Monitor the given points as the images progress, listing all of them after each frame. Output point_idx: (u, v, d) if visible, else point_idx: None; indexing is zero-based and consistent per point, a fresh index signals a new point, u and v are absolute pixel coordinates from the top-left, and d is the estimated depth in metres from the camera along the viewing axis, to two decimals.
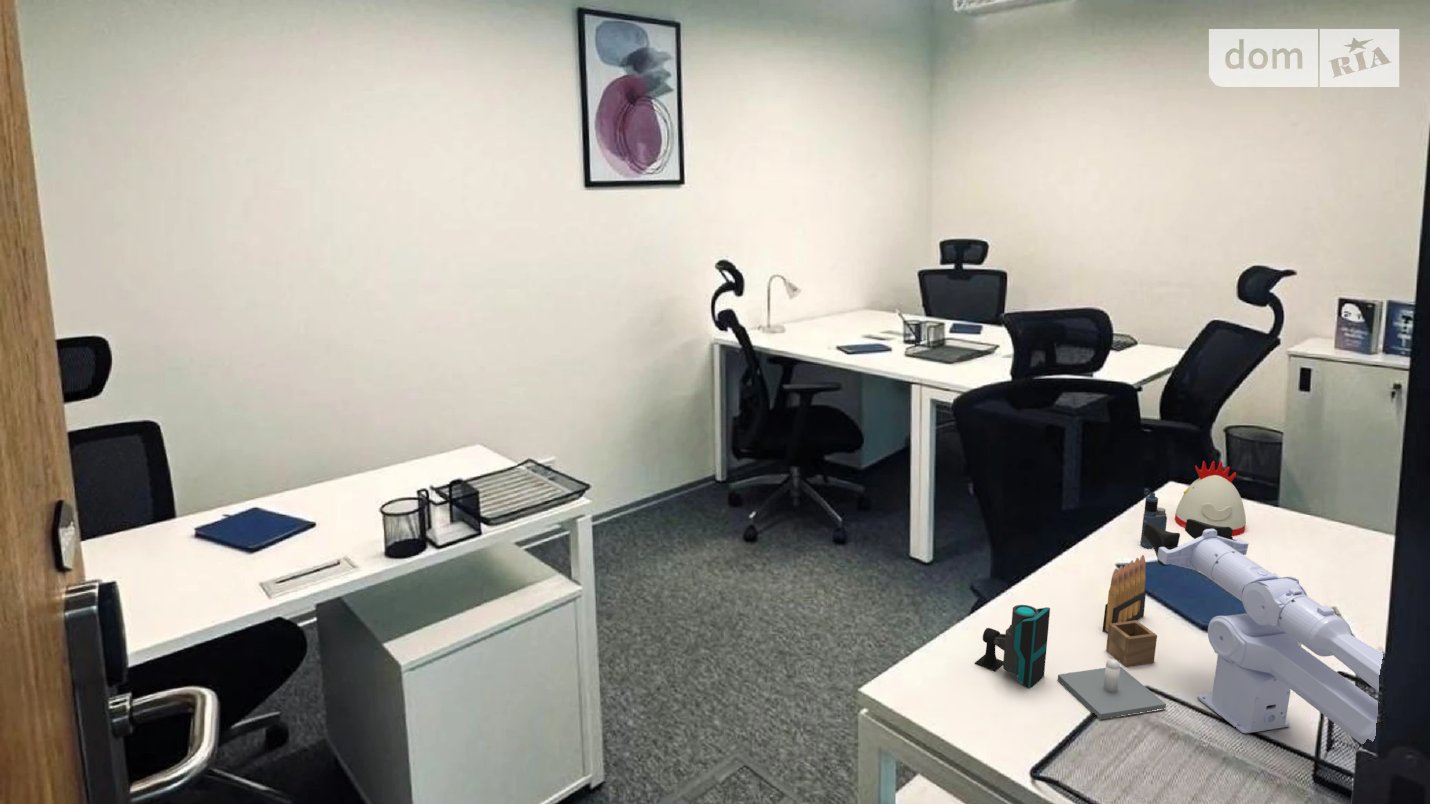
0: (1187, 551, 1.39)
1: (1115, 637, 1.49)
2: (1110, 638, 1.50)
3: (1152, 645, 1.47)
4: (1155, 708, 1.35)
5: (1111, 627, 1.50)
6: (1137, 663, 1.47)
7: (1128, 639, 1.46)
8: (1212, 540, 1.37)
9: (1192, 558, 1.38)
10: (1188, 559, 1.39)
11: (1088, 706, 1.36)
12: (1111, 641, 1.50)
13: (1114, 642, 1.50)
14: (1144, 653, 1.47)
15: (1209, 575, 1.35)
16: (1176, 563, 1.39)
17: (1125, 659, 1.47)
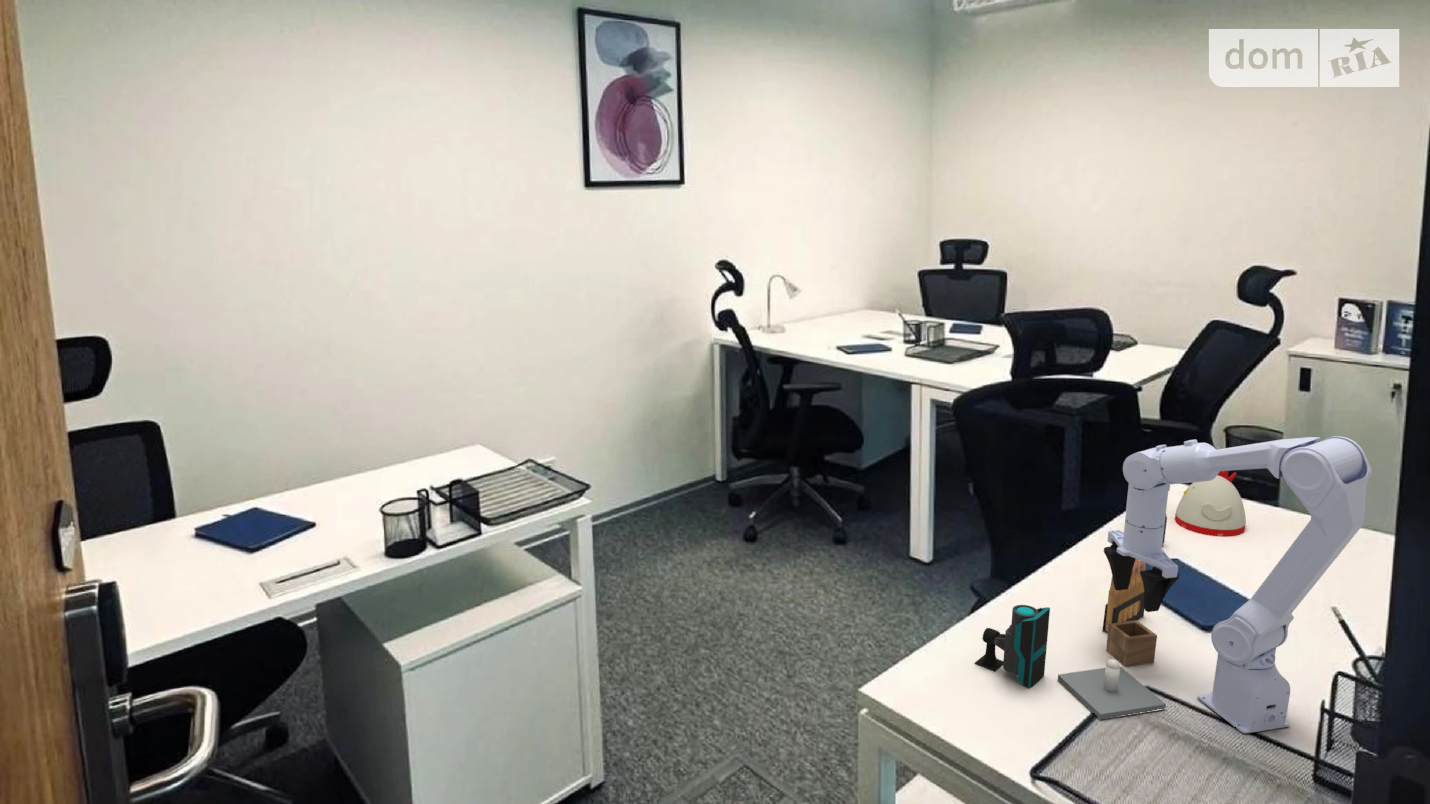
0: (1151, 558, 1.42)
1: (1115, 637, 1.49)
2: (1110, 638, 1.50)
3: (1152, 645, 1.47)
4: (1155, 708, 1.35)
5: (1111, 627, 1.50)
6: (1137, 663, 1.47)
7: (1128, 639, 1.46)
8: (1128, 545, 1.44)
9: (1155, 552, 1.42)
10: (1158, 555, 1.42)
11: (1088, 706, 1.36)
12: (1111, 641, 1.50)
13: (1114, 642, 1.50)
14: (1144, 653, 1.47)
15: (1161, 530, 1.42)
16: (1169, 560, 1.41)
17: (1125, 659, 1.47)
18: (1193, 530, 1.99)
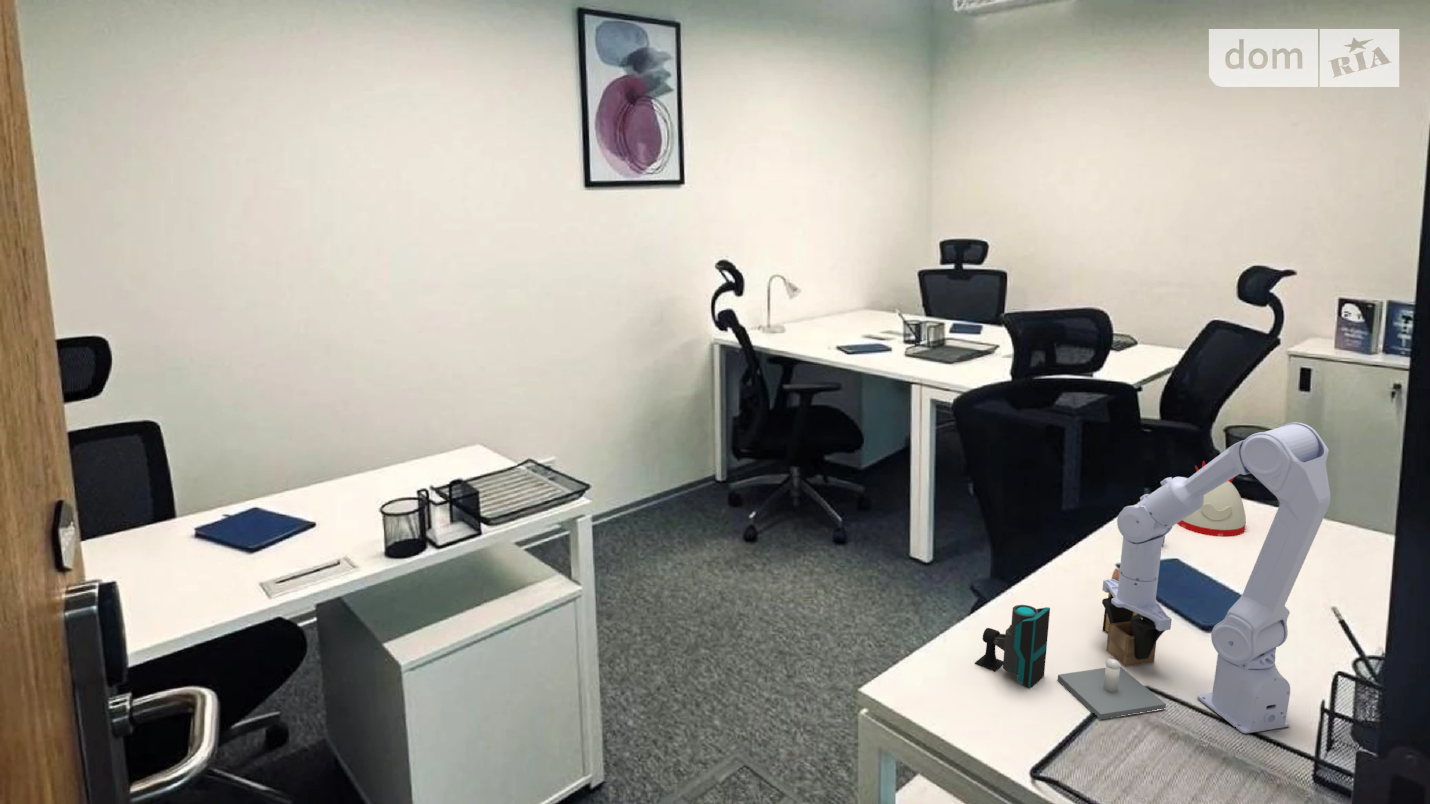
0: (1145, 610, 1.44)
1: (1115, 637, 1.49)
2: (1110, 638, 1.50)
3: None
4: (1155, 708, 1.35)
5: (1111, 627, 1.50)
6: (1137, 663, 1.47)
7: (1128, 639, 1.46)
8: (1122, 596, 1.46)
9: (1149, 604, 1.45)
10: (1152, 607, 1.45)
11: (1088, 706, 1.36)
12: (1111, 641, 1.50)
13: (1114, 642, 1.50)
14: None
15: (1155, 582, 1.44)
16: (1163, 613, 1.43)
17: (1125, 659, 1.47)
18: (1193, 530, 1.99)
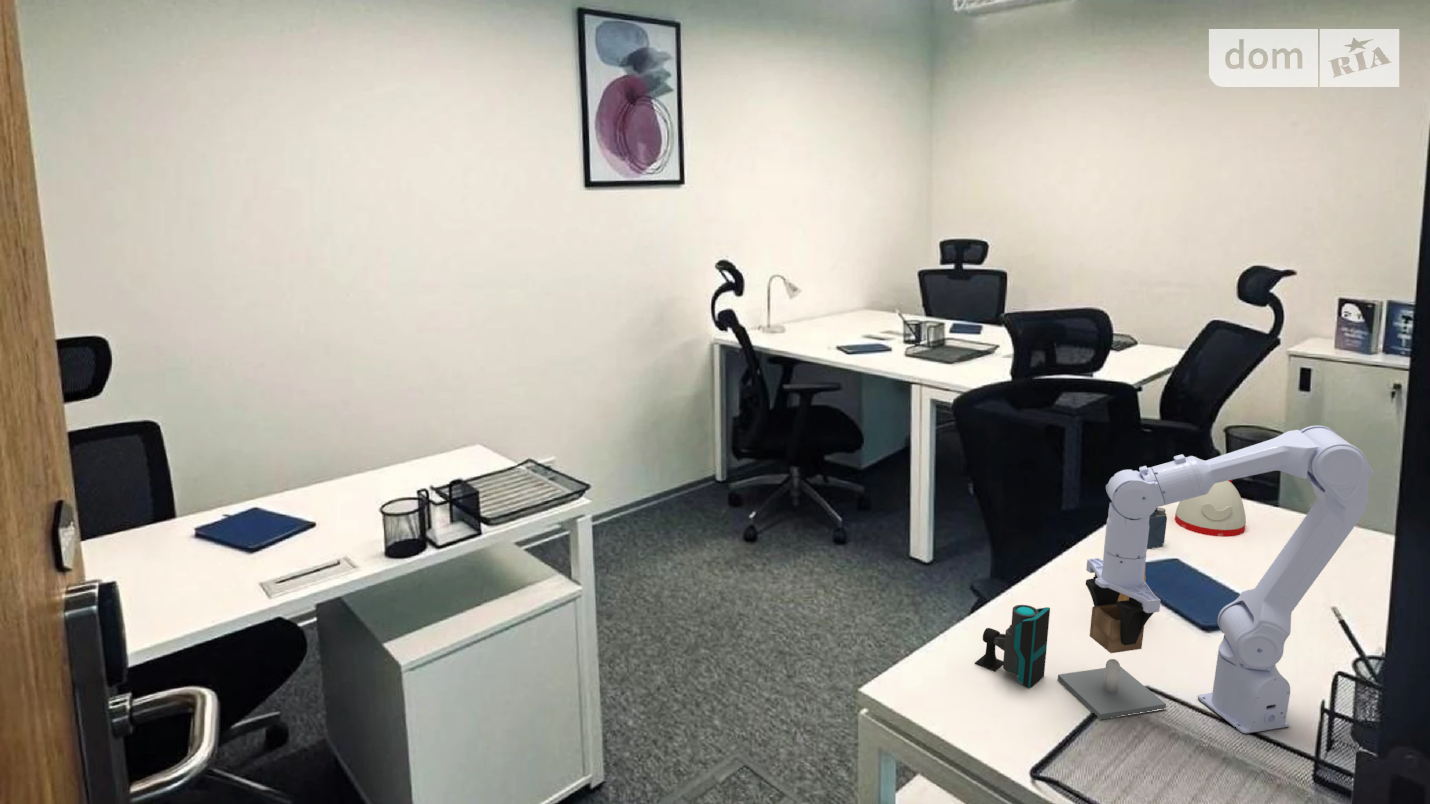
0: (1132, 591, 1.31)
1: (1099, 621, 1.36)
2: (1094, 622, 1.38)
3: None
4: (1155, 708, 1.35)
5: (1095, 610, 1.37)
6: (1123, 649, 1.35)
7: (1113, 623, 1.33)
8: (1107, 576, 1.33)
9: (1136, 584, 1.32)
10: (1139, 588, 1.32)
11: (1088, 706, 1.36)
12: (1095, 626, 1.38)
13: (1098, 627, 1.37)
14: None
15: (1143, 560, 1.31)
16: (1151, 593, 1.30)
17: (1110, 645, 1.34)
18: (1193, 530, 1.99)
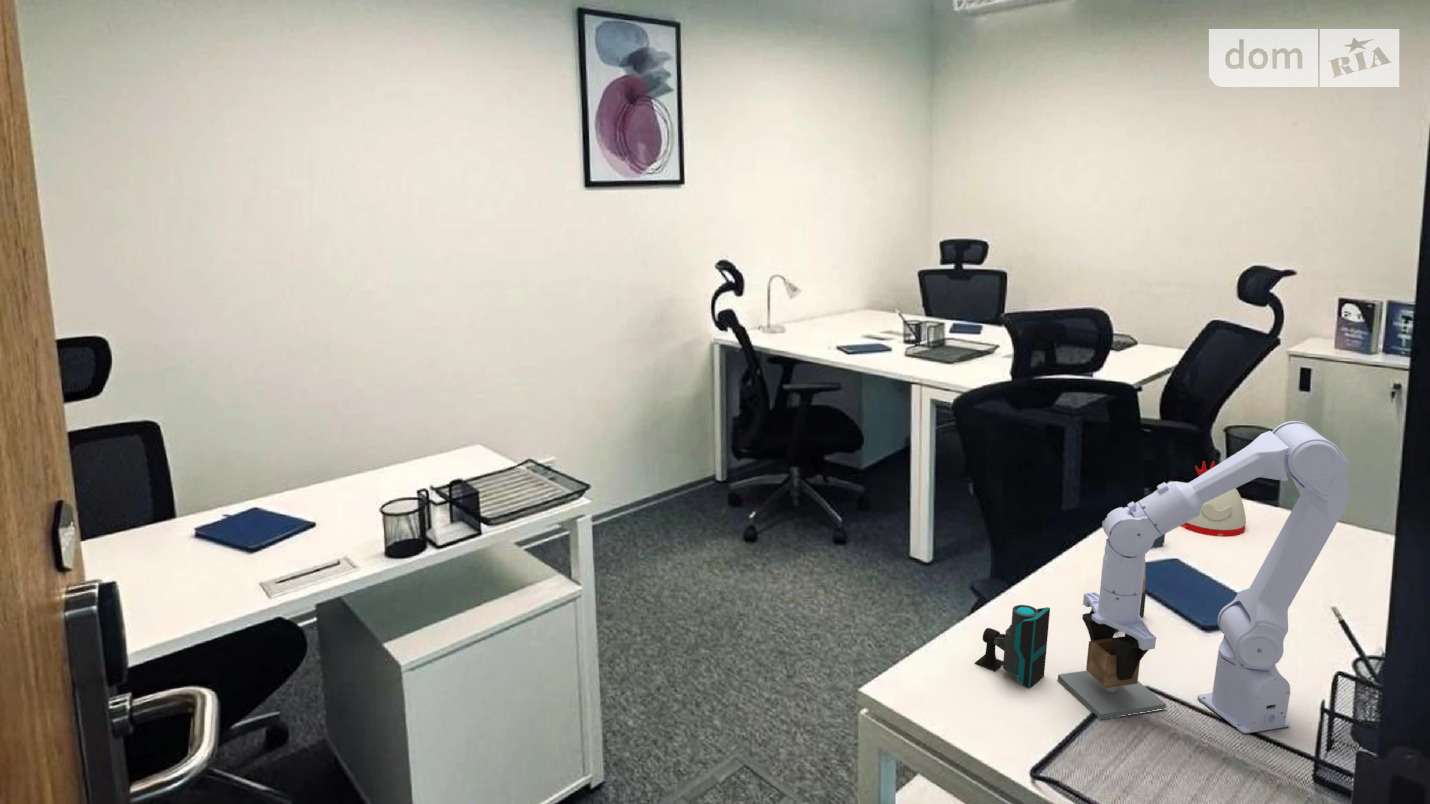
0: (1128, 627, 1.33)
1: (1096, 656, 1.38)
2: (1091, 656, 1.39)
3: None
4: (1155, 708, 1.35)
5: (1091, 645, 1.39)
6: (1119, 684, 1.36)
7: (1109, 658, 1.35)
8: (1103, 612, 1.35)
9: (1132, 620, 1.33)
10: (1135, 624, 1.33)
11: (1088, 706, 1.36)
12: (1091, 660, 1.39)
13: (1094, 661, 1.38)
14: None
15: (1139, 597, 1.33)
16: (1147, 630, 1.31)
17: (1106, 679, 1.36)
18: (1193, 530, 1.99)
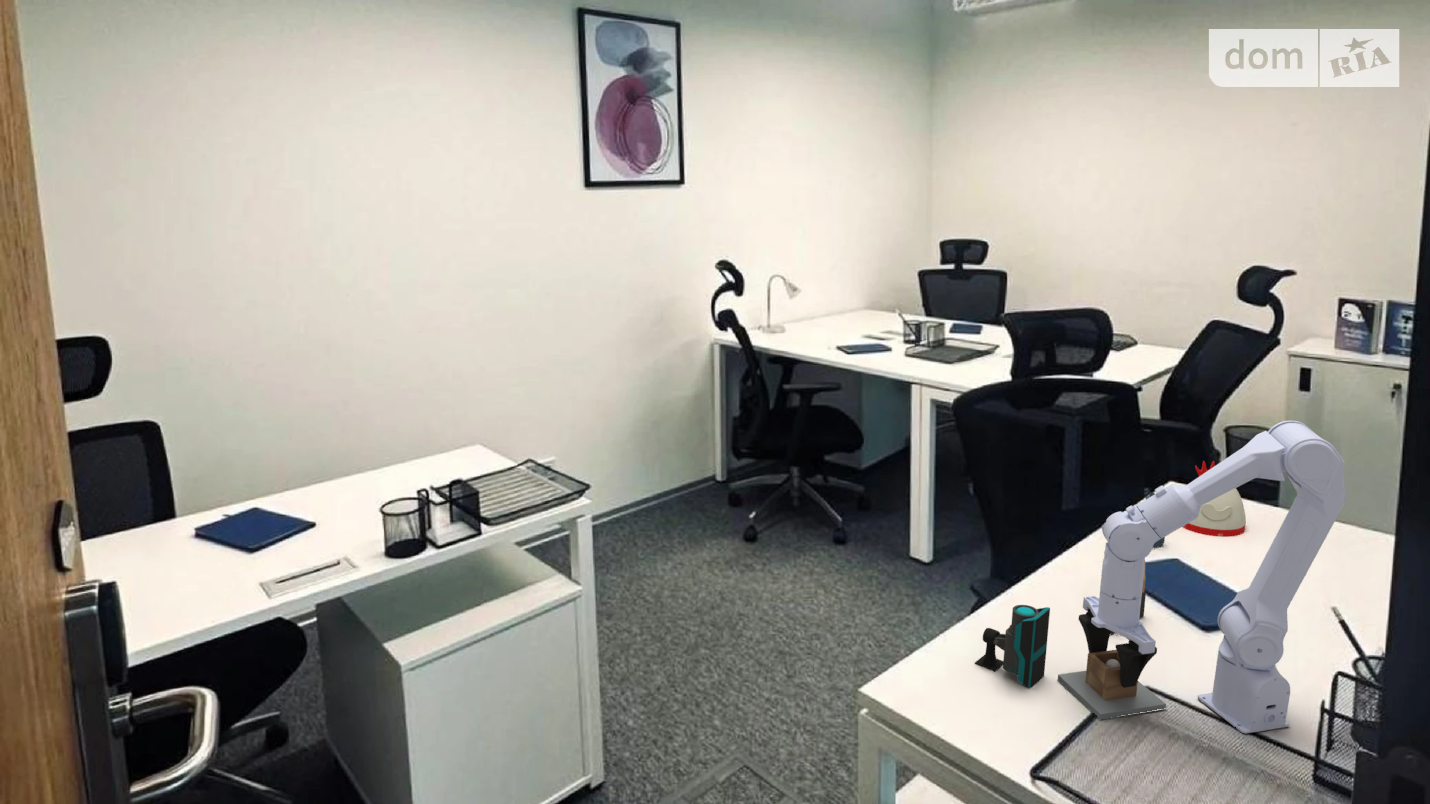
0: (1128, 631, 1.33)
1: (1094, 668, 1.38)
2: (1090, 668, 1.40)
3: None
4: (1155, 708, 1.35)
5: (1090, 657, 1.39)
6: (1118, 697, 1.37)
7: (1108, 671, 1.35)
8: (1103, 616, 1.35)
9: (1131, 624, 1.33)
10: (1135, 628, 1.34)
11: (1088, 706, 1.36)
12: (1090, 672, 1.40)
13: (1093, 673, 1.39)
14: None
15: (1138, 601, 1.33)
16: (1146, 634, 1.32)
17: (1104, 692, 1.36)
18: (1193, 530, 1.99)
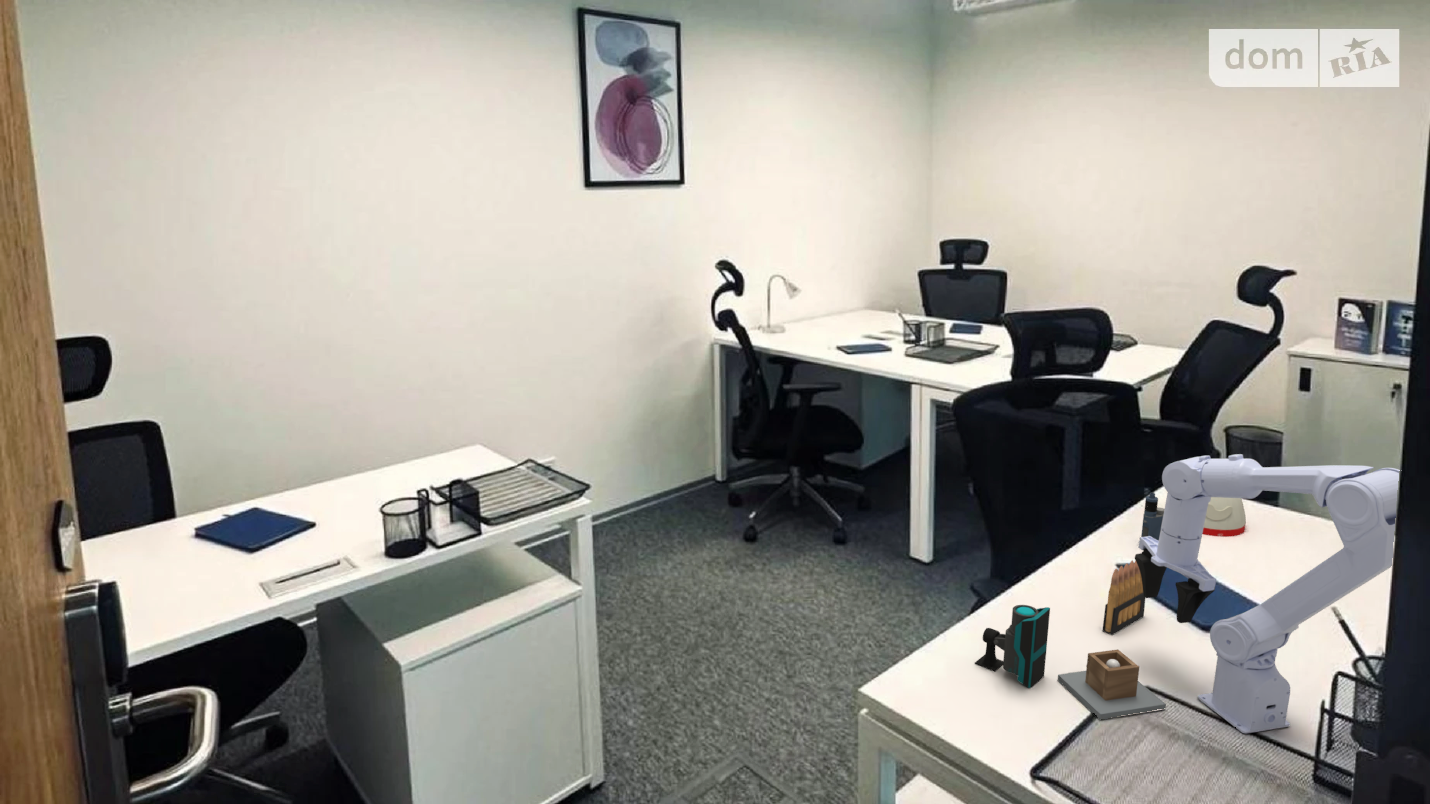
0: (1188, 569, 1.38)
1: (1094, 668, 1.38)
2: (1090, 668, 1.40)
3: (1134, 677, 1.36)
4: (1155, 708, 1.35)
5: (1090, 657, 1.39)
6: (1118, 697, 1.37)
7: (1108, 671, 1.35)
8: (1163, 555, 1.40)
9: (1191, 563, 1.39)
10: (1194, 567, 1.39)
11: (1088, 706, 1.36)
12: (1090, 672, 1.40)
13: (1093, 673, 1.39)
14: (1125, 686, 1.36)
15: (1199, 541, 1.38)
16: (1206, 572, 1.37)
17: (1104, 692, 1.36)
18: None
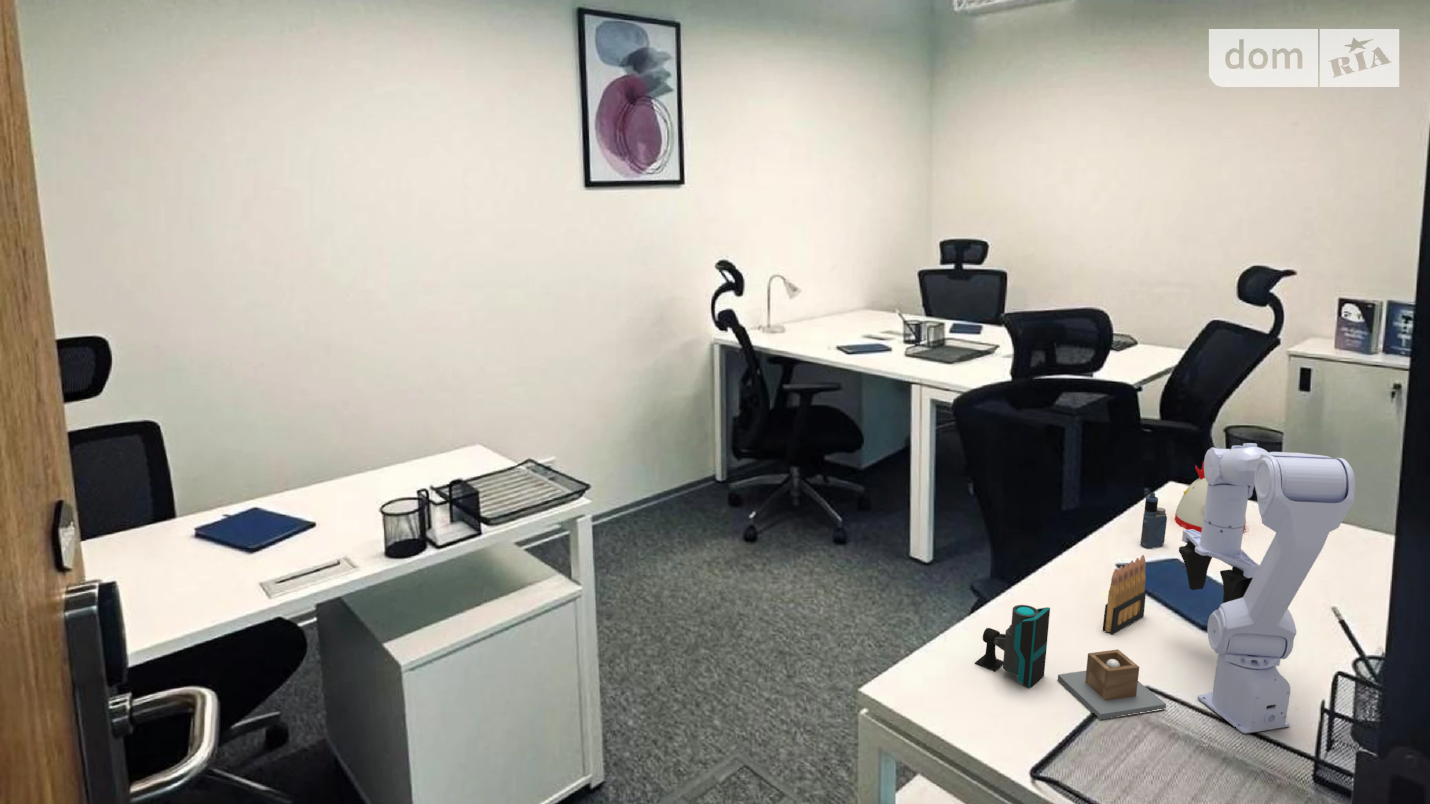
0: (1231, 558, 1.42)
1: (1094, 668, 1.38)
2: (1090, 668, 1.40)
3: (1134, 677, 1.36)
4: (1155, 708, 1.35)
5: (1090, 657, 1.39)
6: (1118, 697, 1.37)
7: (1108, 671, 1.35)
8: (1207, 545, 1.44)
9: (1235, 552, 1.42)
10: (1237, 555, 1.42)
11: (1088, 706, 1.36)
12: (1090, 672, 1.40)
13: (1093, 673, 1.39)
14: (1125, 686, 1.36)
15: (1241, 529, 1.41)
16: (1250, 560, 1.40)
17: (1104, 692, 1.36)
18: None
